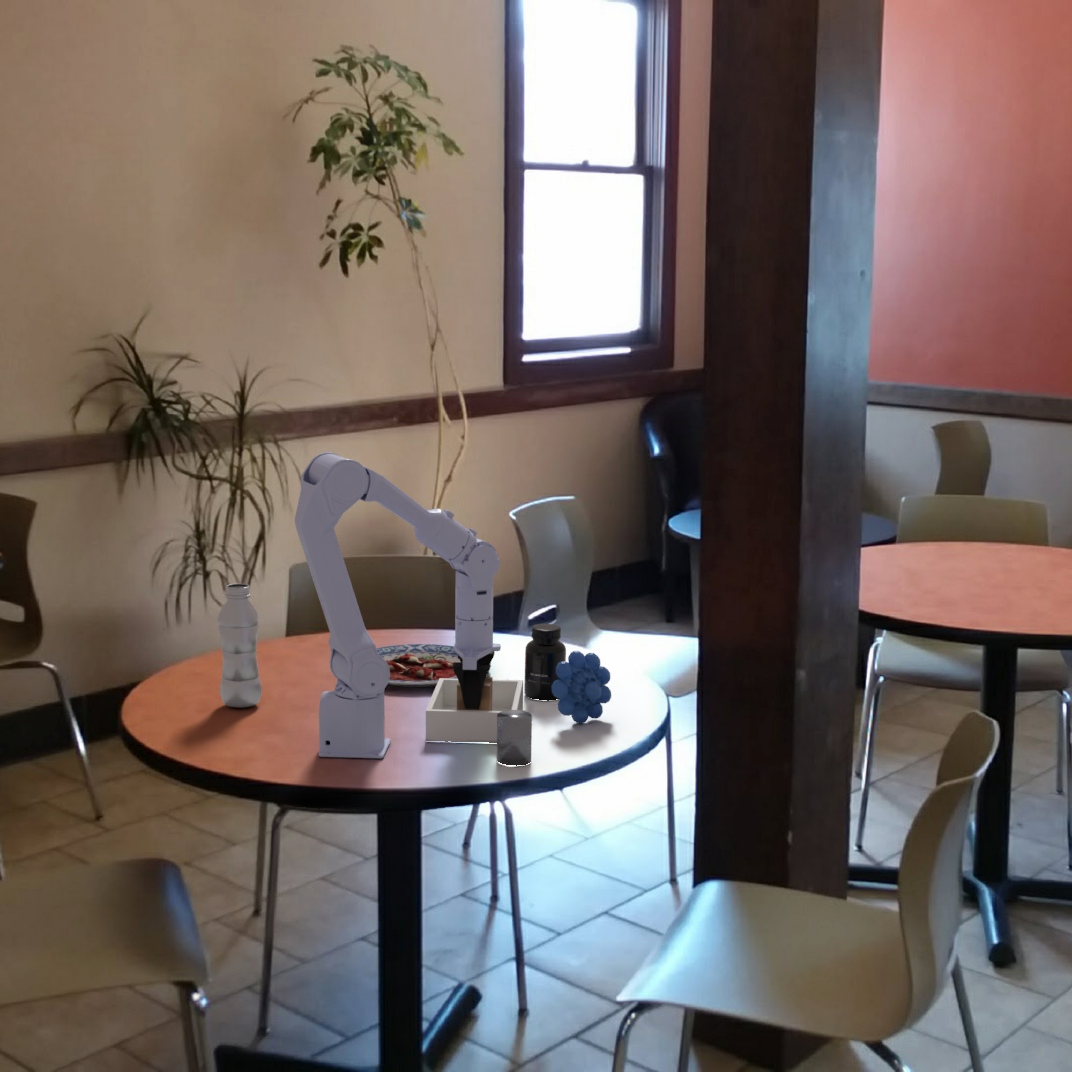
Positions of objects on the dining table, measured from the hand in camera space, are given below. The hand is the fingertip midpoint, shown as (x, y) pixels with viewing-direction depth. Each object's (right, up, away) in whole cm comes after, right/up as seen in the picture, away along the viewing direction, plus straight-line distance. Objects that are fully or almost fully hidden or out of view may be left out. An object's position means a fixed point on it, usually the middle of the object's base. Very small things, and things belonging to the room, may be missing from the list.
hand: (473, 703), depth 216 cm
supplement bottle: (+11, -2, +21) cm, 24 cm away
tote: (0, -4, +5) cm, 6 cm away
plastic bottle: (-38, -2, +14) cm, 41 cm away
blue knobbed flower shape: (+17, -4, +6) cm, 19 cm away
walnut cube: (0, -2, 0) cm, 2 cm away
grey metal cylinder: (+6, -7, -11) cm, 15 cm away
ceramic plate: (-11, +1, +34) cm, 36 cm away
